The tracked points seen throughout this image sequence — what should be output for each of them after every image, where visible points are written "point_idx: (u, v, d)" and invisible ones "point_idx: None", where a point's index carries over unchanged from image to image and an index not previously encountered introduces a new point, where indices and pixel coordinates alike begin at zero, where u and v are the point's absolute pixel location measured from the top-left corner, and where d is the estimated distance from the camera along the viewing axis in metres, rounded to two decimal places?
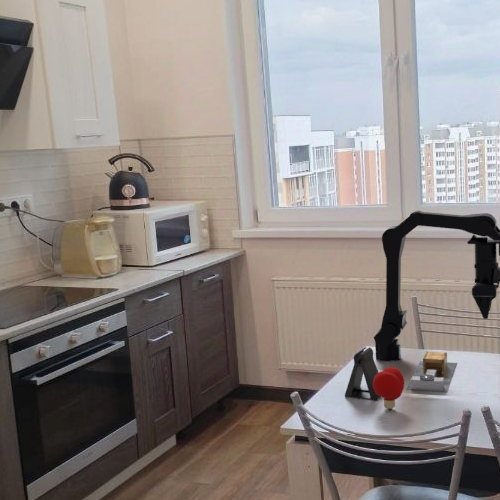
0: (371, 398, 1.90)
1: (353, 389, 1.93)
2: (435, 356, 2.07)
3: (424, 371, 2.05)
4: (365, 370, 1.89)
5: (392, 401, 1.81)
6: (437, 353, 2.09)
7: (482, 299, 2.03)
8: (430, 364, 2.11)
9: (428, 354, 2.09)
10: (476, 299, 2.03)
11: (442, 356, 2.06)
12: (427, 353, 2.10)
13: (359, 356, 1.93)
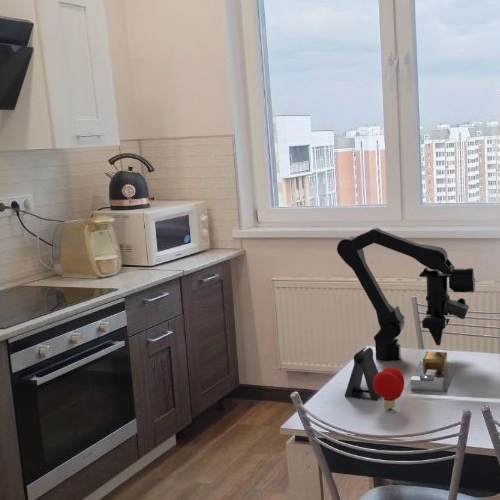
0: (371, 398, 1.90)
1: (353, 389, 1.93)
2: (435, 356, 2.07)
3: (424, 371, 2.05)
4: (365, 370, 1.89)
5: (392, 401, 1.81)
6: (437, 353, 2.09)
7: None
8: (430, 364, 2.11)
9: (428, 354, 2.09)
10: None
11: (442, 356, 2.06)
12: (427, 353, 2.10)
13: (359, 356, 1.93)
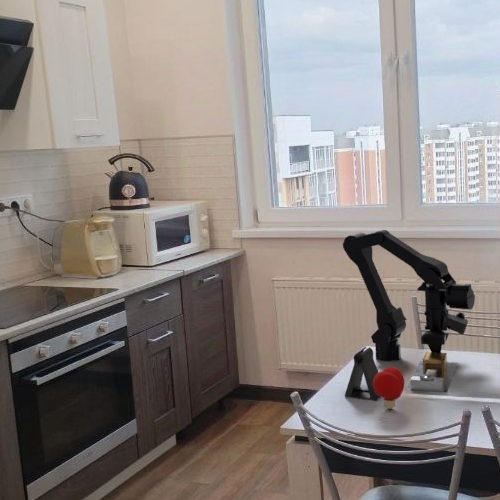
0: (371, 398, 1.90)
1: (353, 389, 1.93)
2: (435, 356, 2.06)
3: (424, 372, 2.05)
4: (365, 370, 1.89)
5: (392, 401, 1.81)
6: (437, 354, 2.08)
7: None
8: (430, 365, 2.10)
9: (428, 355, 2.08)
10: None
11: (441, 356, 2.06)
12: (427, 354, 2.09)
13: (359, 356, 1.93)
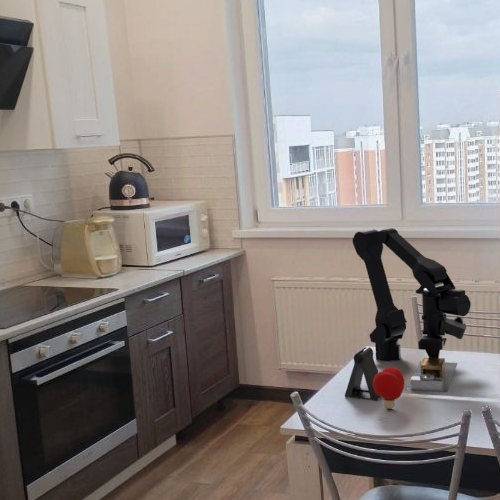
0: (371, 398, 1.90)
1: (353, 389, 1.93)
2: (433, 362, 2.01)
3: None
4: (365, 370, 1.89)
5: (392, 401, 1.81)
6: (435, 359, 2.04)
7: None
8: None
9: (426, 360, 2.03)
10: None
11: (440, 362, 2.01)
12: (424, 359, 2.04)
13: (359, 356, 1.93)
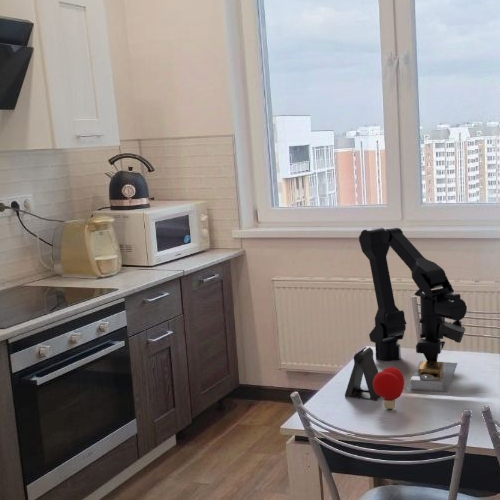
0: (371, 398, 1.90)
1: (353, 389, 1.93)
2: (431, 366, 1.98)
3: None
4: (365, 370, 1.89)
5: (392, 401, 1.81)
6: (433, 363, 2.01)
7: None
8: None
9: (423, 364, 2.00)
10: None
11: (438, 366, 1.98)
12: (422, 363, 2.01)
13: (359, 356, 1.93)
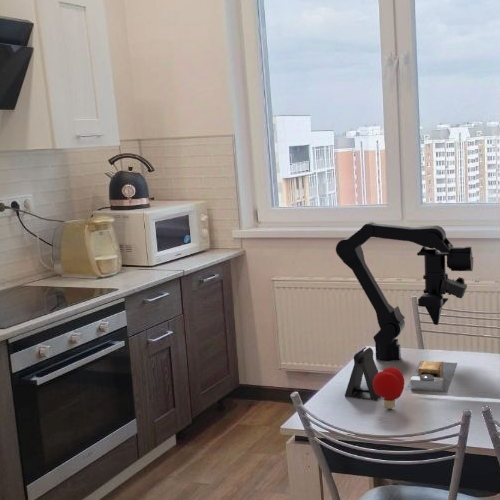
0: (371, 398, 1.90)
1: (353, 389, 1.93)
2: (431, 366, 1.98)
3: None
4: (365, 370, 1.89)
5: (392, 401, 1.81)
6: (433, 363, 2.01)
7: None
8: None
9: (423, 364, 2.00)
10: None
11: (438, 366, 1.98)
12: (422, 363, 2.01)
13: (359, 356, 1.93)
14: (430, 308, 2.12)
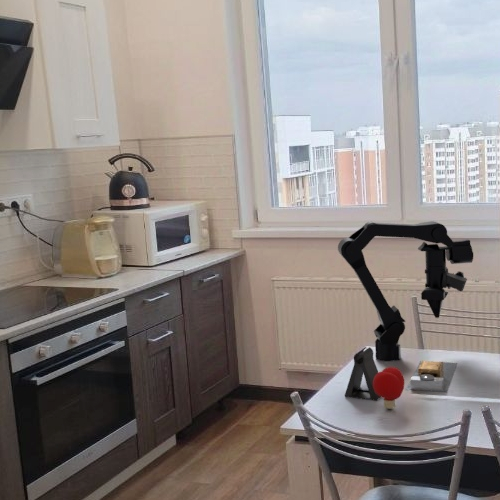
0: (371, 398, 1.90)
1: (353, 389, 1.93)
2: (431, 366, 1.98)
3: None
4: (365, 370, 1.89)
5: (392, 401, 1.81)
6: (433, 363, 2.01)
7: (433, 299, 2.18)
8: None
9: (423, 364, 2.00)
10: (428, 299, 2.18)
11: (438, 366, 1.98)
12: (422, 363, 2.01)
13: (359, 356, 1.93)
14: (431, 301, 2.18)
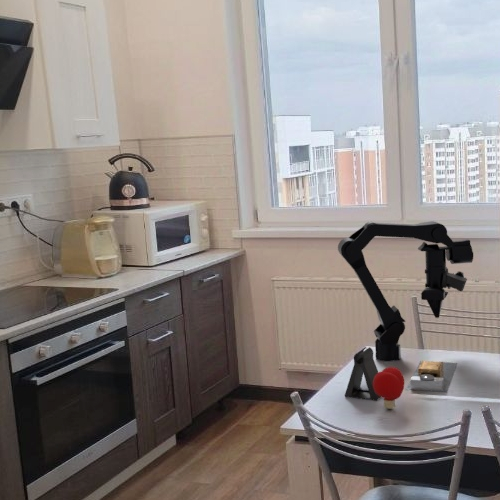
0: (371, 398, 1.90)
1: (353, 389, 1.93)
2: (431, 366, 1.98)
3: None
4: (365, 370, 1.89)
5: (392, 401, 1.81)
6: (433, 363, 2.01)
7: (433, 299, 2.18)
8: None
9: (423, 364, 2.00)
10: (428, 299, 2.18)
11: (438, 366, 1.98)
12: (422, 363, 2.01)
13: (359, 356, 1.93)
14: (431, 301, 2.18)
